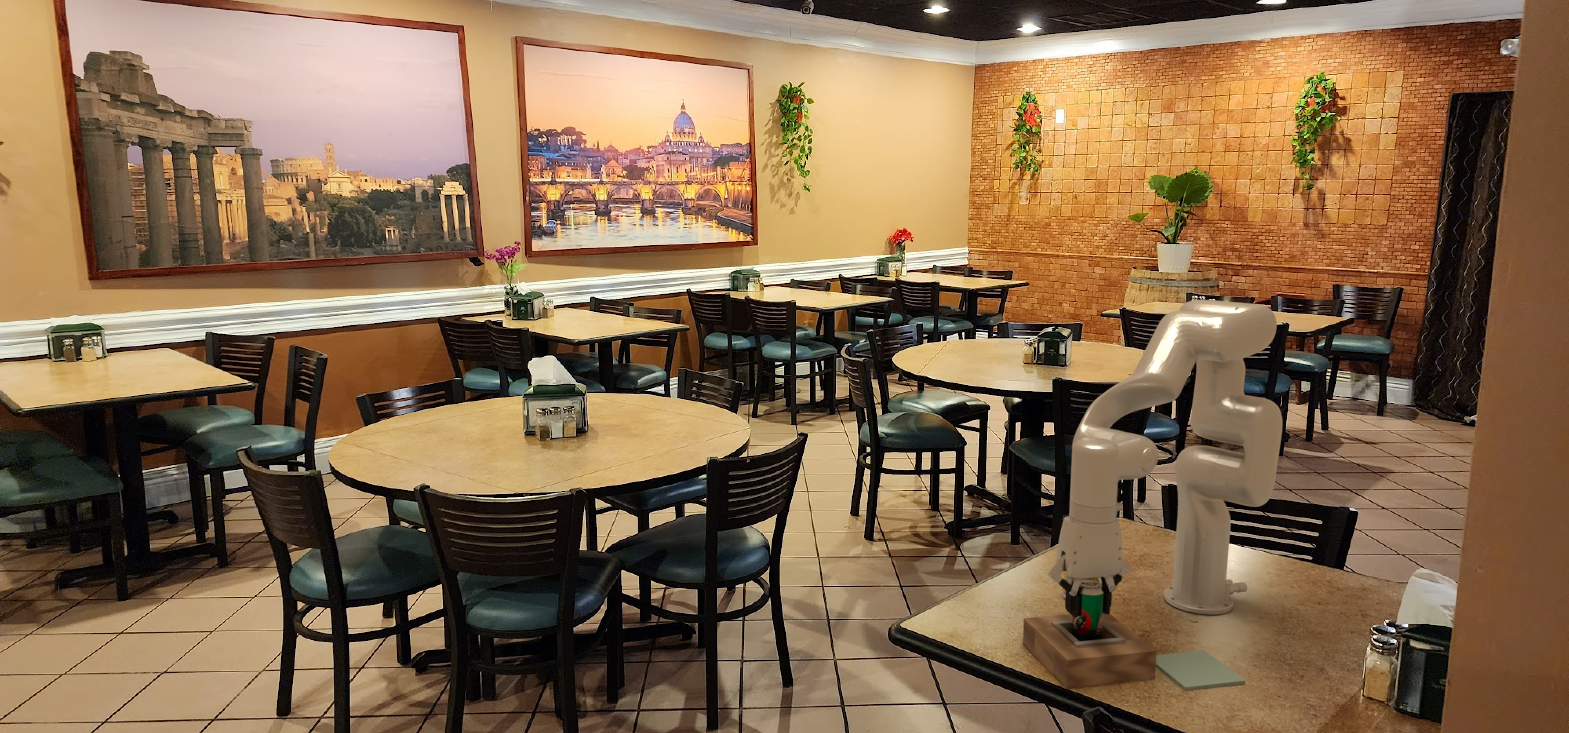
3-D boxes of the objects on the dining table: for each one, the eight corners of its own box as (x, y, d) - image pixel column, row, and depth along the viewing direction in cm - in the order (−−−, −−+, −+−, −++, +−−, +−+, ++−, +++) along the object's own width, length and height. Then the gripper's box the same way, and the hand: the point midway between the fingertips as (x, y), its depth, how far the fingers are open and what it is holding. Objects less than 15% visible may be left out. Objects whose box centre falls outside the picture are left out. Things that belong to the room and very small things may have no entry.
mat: (1203, 653, 165) (1203, 650, 165) (1245, 683, 154) (1245, 680, 154) (1146, 659, 163) (1146, 656, 163) (1184, 690, 152) (1185, 687, 152)
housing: (1104, 636, 172) (1105, 607, 171) (1154, 678, 156) (1157, 647, 155) (1022, 644, 168) (1024, 615, 167) (1066, 688, 153) (1067, 656, 152)
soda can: (1103, 657, 160) (1106, 591, 158) (1072, 655, 161) (1075, 588, 159) (1099, 643, 165) (1102, 579, 163) (1069, 641, 166) (1072, 577, 164)
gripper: (1126, 501, 164) (1121, 599, 167) (1035, 508, 160) (1031, 608, 164) (1151, 514, 157) (1145, 617, 160) (1056, 522, 153) (1052, 627, 156)
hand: (1087, 611), depth 162 cm, fingers closed on soda can, 5 cm apart
